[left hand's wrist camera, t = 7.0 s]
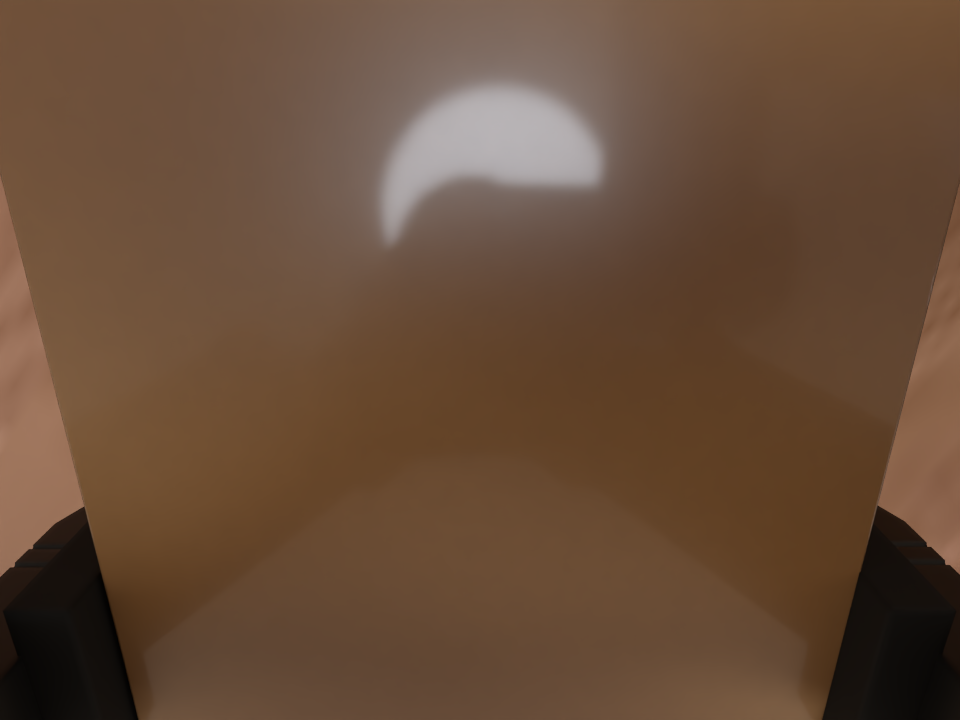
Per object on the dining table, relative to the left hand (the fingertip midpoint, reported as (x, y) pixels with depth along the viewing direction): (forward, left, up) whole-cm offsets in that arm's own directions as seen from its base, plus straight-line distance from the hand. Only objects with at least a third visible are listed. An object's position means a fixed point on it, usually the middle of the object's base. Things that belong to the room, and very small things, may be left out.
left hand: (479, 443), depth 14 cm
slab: (-22, -25, -1) cm, 34 cm away
